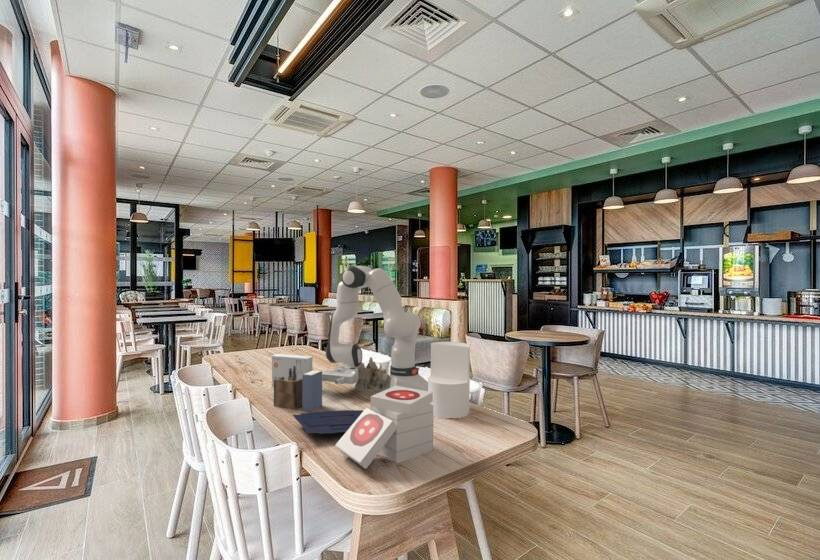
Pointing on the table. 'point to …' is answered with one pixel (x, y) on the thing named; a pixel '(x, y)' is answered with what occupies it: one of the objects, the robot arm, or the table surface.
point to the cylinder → (450, 379)
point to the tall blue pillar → (312, 390)
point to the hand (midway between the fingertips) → (327, 380)
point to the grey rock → (372, 378)
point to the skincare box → (290, 366)
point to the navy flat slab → (328, 421)
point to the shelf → (287, 393)
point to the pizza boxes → (391, 427)
